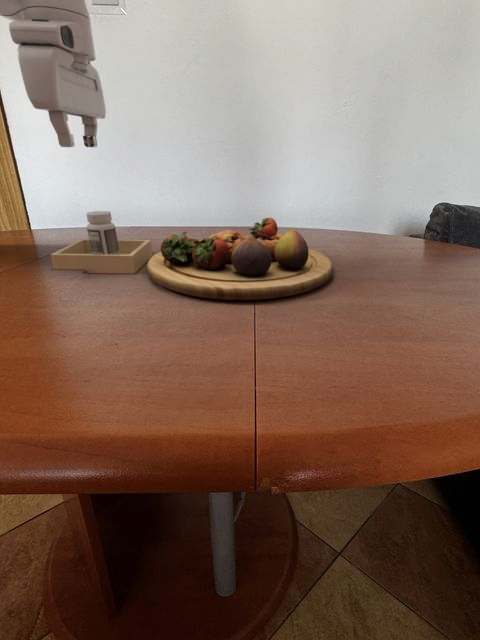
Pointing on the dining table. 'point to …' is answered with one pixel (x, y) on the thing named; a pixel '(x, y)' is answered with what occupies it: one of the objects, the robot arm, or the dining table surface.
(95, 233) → the pill bottle
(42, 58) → the robot arm
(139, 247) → the tray
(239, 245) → the wooden plate
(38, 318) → the dining table surface
